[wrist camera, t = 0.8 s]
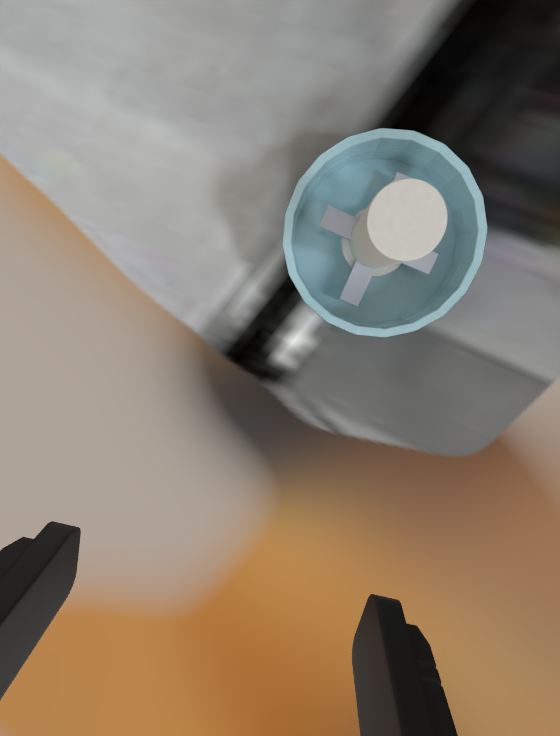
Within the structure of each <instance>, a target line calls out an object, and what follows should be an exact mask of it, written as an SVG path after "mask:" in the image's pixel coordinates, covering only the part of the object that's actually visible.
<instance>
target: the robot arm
mask: <svg viewBox="0 0 560 736" xmlns="http://www.w3.org/2000/svg"><path fill="white" fill-rule="evenodd" d="M80 534H81V533H80V528H79V527H75V526H70V525H66V524H62V523H57V522H50V523H48V524H47V525H46V526H45V527H44V528H43V530H42V531H41V532H40V533H39V534H38V535H37V536H36V538H35V539H30V538H26V537H22V538H21V539H19V540H17V541H15V542H13V543H12V544H10V545H8V546H6V547H4V548H3V549H2V550H1V551H0V700H1V698H2V697H3V695H4V693H5V692H6V690H7V689H8V687H9V686H10V684H11V683H12V681H13V680H14V678H15V677H16V675H17V674H18V672H19V670H20V669H21V667H22V666H23V664H24V662H25V661H26V660H27V658H28V656H29V655H30V654H31V652H32V650H33V649H34V647H35V646H36V644H37V643H38V641H39V640H40V638H41V637H42V635H43V634H44V632H45V630H46V629H47V627H48V626H49V624H50V623H51V621H52V620H53V618H54V616H55V615H56V614H57V612H58V611H59V609H60V608H61V606H62V604H63V603H64V601H65V600H66V598H67V597H68V594H69V593H70V590H71V588H72V586H73V583H74V580H75V577H76V572H77V562H78V552H79V544H80ZM352 664H353V673H354V683H355V691H356V700H357V708H358V717H359V726H360V735H361V736H458V735H457V732H456V729H455V725H454V722H453V719H452V716H451V713H450V709H449V706H448V703H447V699H446V696H445V693H444V690H443V687H441V680H440V677H439V673H438V670H437V669H436V663H435V660H434V657H433V654H432V651H431V647H430V645H429V643H428V642H427V640H426V639H425V637H424V636H423V634H422V633H421V631H420V630H419V628H418V627H417V626H415V625H410V624H406V621H405V617H404V614H403V610H402V606H401V603H400V601H399V600H396V599H392V598H387V597H383V596H378V595H374V594H371V595H370V596H369V598H368V600H367V603H366V606H365V608H364V611H363V614H362V617H361V620H360V622H359V625H358V628H357V631H356V634H355V637H354V641H353V648H352Z"/></svg>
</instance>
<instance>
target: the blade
mask: <svg viewBox="0 0 560 736" xmlns="http://www.w3.org/2000/svg"><path fill="white" fill-rule="evenodd" d="M447 218H448V215H447V208H446V204H445V202H444V199H443V197H442V196H441V194H440V193H439V192H438V190H437V189H436V188H435V187H433V186H432V185H431V184H429V183H427V182H425V181H423V180H420V179H415V178H411V177H409V176H407V175H404V174H402V173H400V172H396V174H395V176H394V178H393V180H392V182H391V183H389V184H388V185H386V186H385V187H383V188H382V189H381V190H380V191H379V192H378V193H377V194H376V196H375V197H374V199H373V200H372V202H371V203H370V204H369V206H368V207H367V208H366V209H363V210H361V211H359V212H358V213H356V214H355V215H354V216H352V215H350V214H348V213H345V212H343V211H341V210H339V209H336V208H334V207H332V206H330V205H328V206H327V208H326V211H325V213H324V215H323V217H322V220H321V222H320V224H319V227H321V228H323V229H325V230H327V231H330V232H332V233H334V234H336V235H339V236H341V252H342V256H343V258H344V260H345V262H346V263H347V265H348V266H349V267H350V268H351V269H352V270H351V272H350V275H349V277H348V279H347V281H346V283H345V286H344V288H343V290H342V292H341V294H340V297H339V299H341V300H343V301H345V302H347V303H350V304H352V305H354V306H356V307H358V305H359V303H360V301H361V299H362V297H363V295H364V293H365V290H366V288H367V286H368V284H369V282H370V280H371V278H372V277H378V276H383V275H386V274H389V273H391V272H392V271H394V270H395V269H397V268H398V267H399V266H400V265H401V264H404V265H406V266H409V267H411V268H413V269H415V270H418V271H420V272H422V273H424V274H427V275H428V274H429V273H430V271H431V269H432V267H433V265H434V263H435V261H436V259H437V257H438V255H439V254H438V253H436V252H433V251H432V250H433V249H434V248H435V247H436V246H437V245H438V244H439V242H440V241H441V239H442V237H443V235H444V233H445V230H446V227H447Z"/></svg>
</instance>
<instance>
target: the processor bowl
mask: <svg viewBox="0 0 560 736" xmlns="http://www.w3.org/2000/svg"><path fill="white" fill-rule="evenodd" d="M396 172H400V173H402V174H404V175H407V176H409V177H411V178H415V179H420V180H423V181H425V182H427V183H429V184H431V185H432V186H433V187H435V188H436V189H437V190H438V192H439V193H440V194H441V196H442V197H443V199H444V202H445V204H446V208H447V215H448V218H447V227H446V230H445V233H444V235H443V237H442V239H441V241H440V242H439V244H438V245H437V246H436V247H435V248H434V249H433V250H432V251H433V252H436V253H438V254H439V255H438V257H437V259H436V261H435V263H434V265H433V267H432V269H431V271H430V273H429V274H428V275H427V274H424V273H422V272H420V271H418V270H415V269H413V268H411V267H409V266H406V265H404V264H401V265H400V266H399V267H398V268H397V269H395V270H394V271H392V272H391V273H389V274H386V275H383V276H378V277H372V278H371V280H370V282H369V284H368V286H367V288H366V290H365V293H364V295H363V297H362V299H361V301H360V303H359V305H358V307H356V306H354V305H352V304H350V303H347V302H345V301H343V300H341V299H339V297H340V294H341V292H342V290H343V288H344V286H345V283H346V281H347V279H348V277H349V275H350V272H351V270H352V269H351V268H350V267H349V266H348V265H347V263H346V262H345V260H344V258H343V256H342V252H341V236H339V235H336V234H334V233H332V232H330V231H327V230H325V229H323V228H321V227H319V224H320V222H321V220H322V217H323V215H324V213H325V211H326V208H327V206H328V205H330V206H332V207H334V208H336V209H339V210H341V211H343V212H345V213H348V214H350V215H352V216H354V215H355V214H356V213H358V212H359V211H361V210H363V209H366V208H367V207H368V206H369V204H370V203H371V202H372V200H373V199H374V197H375V196H376V194H377V193H378V192H379V191H380V190H381V189H382V188H383V187H385V186H386V185H388V184H389V183H391V182H392V180H393V178H394V176H395V174H396ZM486 235H487V223H486V215H485V208H484V201H483V195H482V193H481V191H480V189H479V187H478V185H477V183H476V182H475V180H474V178H473V176H472V174H471V172H470V170H469V168H468V166H467V165H466V164H465V163H464V162H463V161H462V160H460V159H459V158H458V157H457V156H456V155H455V154H454V153H453V152H452V151H451V150H450V149H449V148H448V147H447V146H446V145H445V144H443V143H441V142H439V141H436V140H434V139H432V138H430V137H427V136H425V135H423V134H421V133H418V132H416V131H413V130H399V129H386V128H381V129H380V128H379V129H375V130H372V131H368V132H364V133H360V134H356V135H353V136H349V137H347V138H345V139H344V140H342V141H341V142H339V143H337V144H336V145H334V146H333V147H331V148H330V149H328V150H327V151H325V152H324V153H322V154H320V156H318V158H317V159H316V160H315V161H314V163H313V164H312V165H311V166H310V167H309V169H308V170H307V171H306V172H305V173H304V175H303V176H302V177H301V178H300V179H299V182H298V183H297V185H296V187H295V190H294V192H293V195H292V197H291V200H290V202H289V204H288V207H287V209H286V212H285V221H284V232H283V243H282V244H283V249H284V254H285V259H286V263H287V268H288V273H289V276H290V278H291V279H292V281H293V283H294V285H295V286H296V288H297V290H298V292H299V293H300V295H301V297H302V299H303V300H304V301H305V303H306V304H307V305H308V306H310V307H311V308H312V309H313V310H314V311H315V312H316V313H317V314H318V315H320V316H321V317H322V318H323V319H324V320H325V321H327V322H328V323H330V324H332V325H335V326H337V327H339V328H342V329H344V330H346V331H348V332H351V333H353V334H357V335H367V336H377V337H389V336H393V335H398V334H403V333H408V332H413V331H416V330H418V329H420V328H422V327H423V326H425V325H427V324H429V323H431V322H432V321H434V320H436V319H438V318H440V317H442V316H443V315H444V314H445V313H446V312H447V311H448V310H449V309H450V308H451V307H452V306H453V305H454V304H455V303H456V302H457V301H458V300H459V299H460V298H461V297H462V296H463V295H464V294H465V293H466V291H467V289H468V288H469V286H470V284H471V282H472V280H473V278H474V276H475V274H476V272H477V270H478V268H479V266H480V264H481V262H482V257H483V251H484V246H485V240H486Z"/></svg>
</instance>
